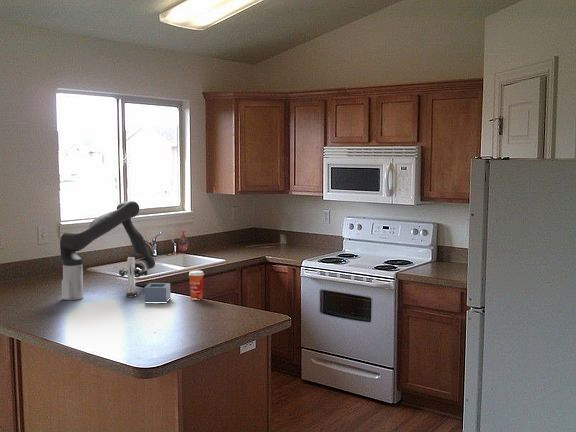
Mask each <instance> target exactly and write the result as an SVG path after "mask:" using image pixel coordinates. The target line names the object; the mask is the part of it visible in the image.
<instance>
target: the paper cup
mask: <svg viewBox="0 0 576 432" xmlns="http://www.w3.org/2000/svg"><path fill="white" fill-rule="evenodd" d="M188 275H189V277H188V278H189V292H190V299H191V298H197V299H202V300H203V289H204V287H203V286H204V275H205V273H204V271H203V270H191V271H189V273H188Z"/></svg>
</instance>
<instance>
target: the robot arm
mask: <svg viewBox="0 0 576 432" xmlns="http://www.w3.org/2000/svg"><path fill="white" fill-rule="evenodd" d="M139 212H140V205H139V204H138V203H137V202H136V201H134V200H128V201H125V202H124V201H123V202H120V203H119V204H117V206H116V209H114V210H113V211H109V212H107V213H104V214H102V215H100V216H98V217H96V218H95V219H93V220H92V221H91V223H89V226H88V228H86V229H85V230H82V231H80V232H73V231H72V232H71V231H67V232H63V234H62V235H61V237H60V241H59V248H60V249H59V250H60V259H61V261H62V278H63V279H62V280H61V299H62V300H65V301H77V300H81V299H83V298H84V278H83V271H84V270H83V259H82V257H80V256H79V255H78V254H77V252H79V251H82V250H83V249H85V248H86V247H87V246H89V245H90V244H91V243H92V242H93V241H96V240H97V239H99V238H101V237H103V236H104V235H105V234H108V233H109V232H111V231H112V230H113V229H116V228H117V227H118V226H120V225H122V226H123V228H124V230H125V231H126V234H127V236H128V238H129V240H130V243H131V246H132V249H133V252H134V253H135V255H136V256H139V255H143V256H144V257H141V258H138V259H137V260H136V259H135V278H140V277H142V276H148V274H149V270H150V269H153V268H154V267H155V265H156V261H155V259H154V257H153V256H152V255H151V253H150V252H149V250H148V247H147V244H146V241H145V239H144V236H143V235H142V234H141V233H140V232H139V230H138V229H137V228H136V227H135V225H134V223H133V222H132V218H135V217H137V216H138V214H139ZM118 275H119V276H121V278H122V277H125V276H126V277H128V268H126V269H125V268H121V269H119V270H118Z"/></svg>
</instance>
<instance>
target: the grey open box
mask: <svg viewBox="0 0 576 432" xmlns="http://www.w3.org/2000/svg"><path fill="white" fill-rule="evenodd" d="M143 293H144V295H143V297H144V298H143V299H144V302H167V300H168V299H169V298H170V299H171V283H170V282H169V283H168V282H166V283H164V282H163V283H162V282H149V283H148V284H146V285H145V286H144V289H143ZM144 302H143V303H144Z"/></svg>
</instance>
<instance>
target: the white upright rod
mask: <svg viewBox="0 0 576 432" xmlns="http://www.w3.org/2000/svg"><path fill="white" fill-rule="evenodd" d="M126 262H127V269H128V276H127V291H126V296H135V295H136V294H137V295H138V291H136V277H135V262H136V257H135V256H128V257H127V261H126Z"/></svg>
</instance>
